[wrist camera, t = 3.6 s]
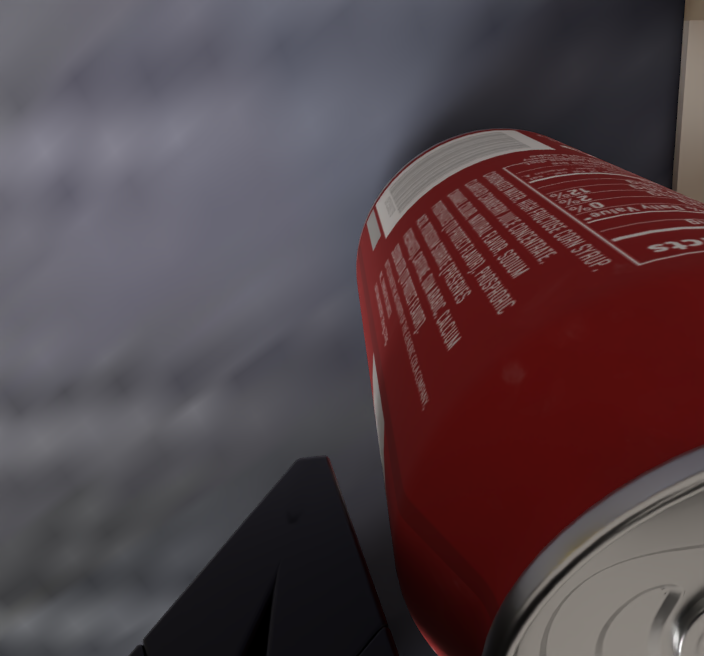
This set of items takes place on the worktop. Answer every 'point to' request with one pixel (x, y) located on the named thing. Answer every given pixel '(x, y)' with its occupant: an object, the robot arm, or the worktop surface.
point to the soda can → (539, 398)
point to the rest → (691, 107)
